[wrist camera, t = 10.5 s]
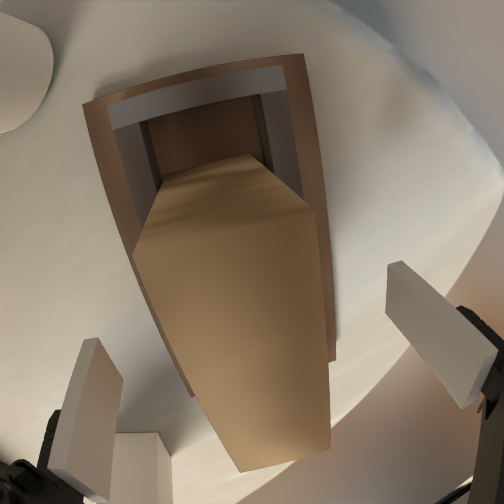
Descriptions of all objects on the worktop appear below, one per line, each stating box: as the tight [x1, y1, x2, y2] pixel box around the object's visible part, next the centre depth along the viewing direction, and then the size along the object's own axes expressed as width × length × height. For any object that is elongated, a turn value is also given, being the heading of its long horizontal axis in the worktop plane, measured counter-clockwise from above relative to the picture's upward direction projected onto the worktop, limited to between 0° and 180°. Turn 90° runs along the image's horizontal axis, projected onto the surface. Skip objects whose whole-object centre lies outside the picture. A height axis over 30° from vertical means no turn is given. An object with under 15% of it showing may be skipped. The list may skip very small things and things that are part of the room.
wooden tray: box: [82, 54, 336, 397], centre depth 19 cm, size 12×22×4 cm, turn 11°
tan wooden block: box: [132, 154, 331, 473], centre depth 15 cm, size 5×12×10 cm, turn 11°
